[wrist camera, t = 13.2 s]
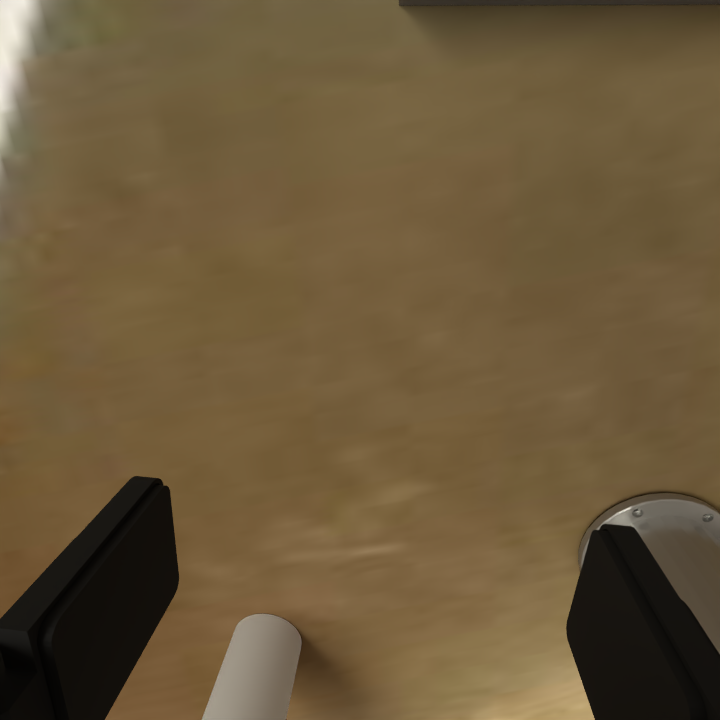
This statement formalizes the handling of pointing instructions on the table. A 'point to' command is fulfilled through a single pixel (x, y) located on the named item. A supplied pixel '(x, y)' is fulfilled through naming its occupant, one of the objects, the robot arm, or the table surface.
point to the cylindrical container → (256, 671)
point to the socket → (555, 2)
